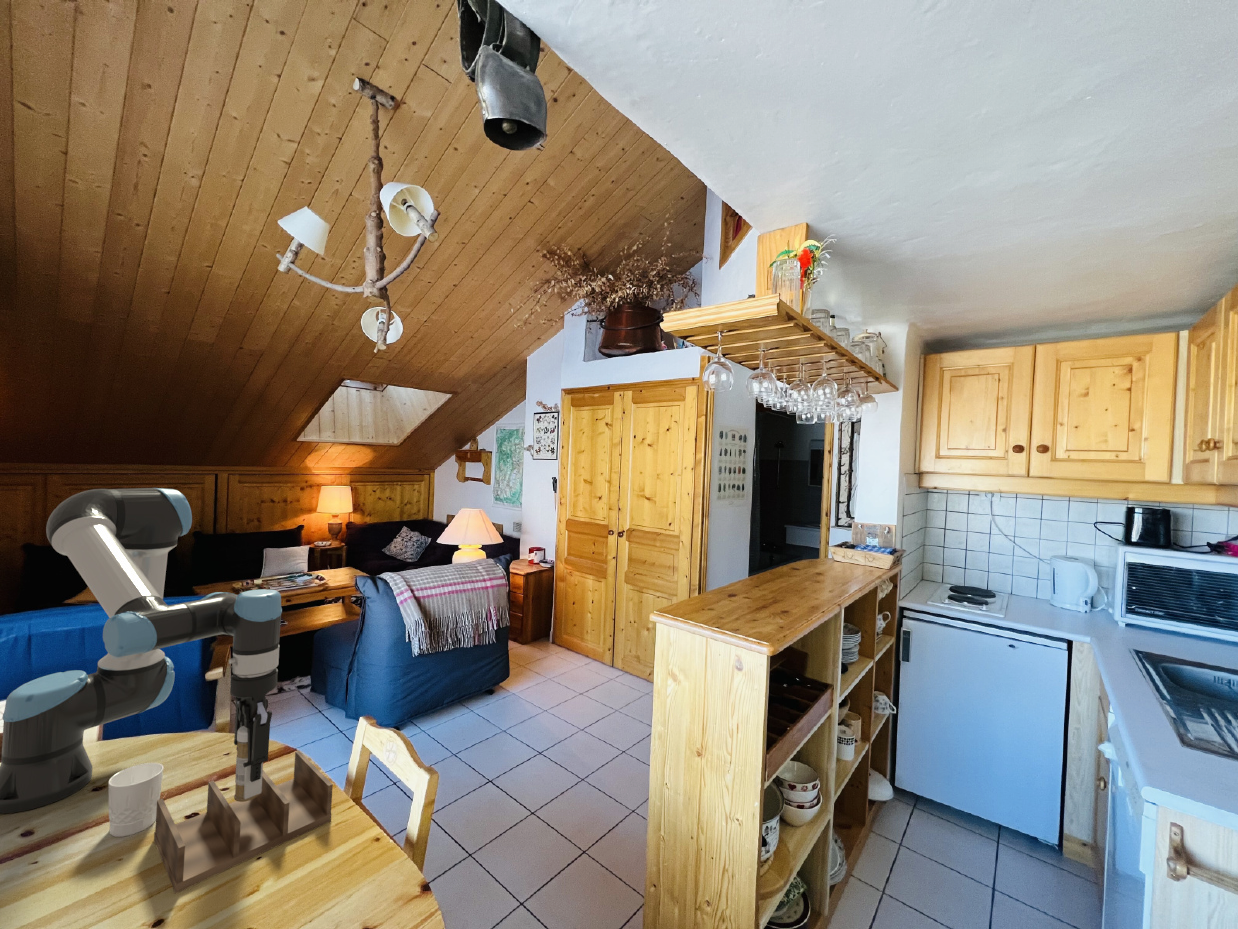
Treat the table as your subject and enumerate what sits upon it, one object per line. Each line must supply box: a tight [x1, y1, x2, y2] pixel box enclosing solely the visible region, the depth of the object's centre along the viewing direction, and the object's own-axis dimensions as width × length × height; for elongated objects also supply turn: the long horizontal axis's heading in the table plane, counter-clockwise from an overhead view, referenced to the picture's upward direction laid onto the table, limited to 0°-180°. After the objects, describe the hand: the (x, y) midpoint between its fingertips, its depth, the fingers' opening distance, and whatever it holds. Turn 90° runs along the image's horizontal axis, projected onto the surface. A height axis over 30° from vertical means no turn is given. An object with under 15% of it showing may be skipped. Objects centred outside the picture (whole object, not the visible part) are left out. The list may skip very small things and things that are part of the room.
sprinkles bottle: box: [233, 726, 262, 802], centre depth 101 cm, size 5×5×13 cm
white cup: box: [107, 762, 164, 837], centre depth 101 cm, size 8×8×10 cm
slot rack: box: [153, 750, 334, 895], centre depth 101 cm, size 18×24×8 cm
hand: (248, 789), depth 101 cm, fingers closed on sprinkles bottle, 4 cm apart
